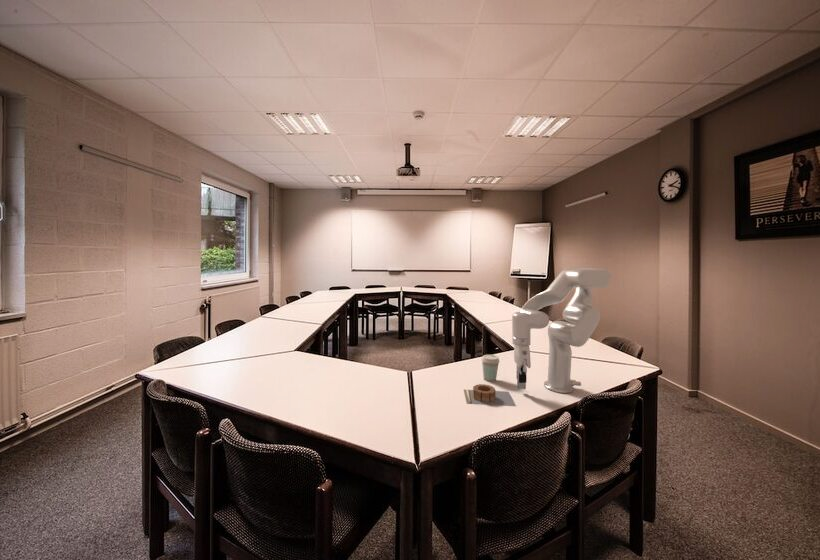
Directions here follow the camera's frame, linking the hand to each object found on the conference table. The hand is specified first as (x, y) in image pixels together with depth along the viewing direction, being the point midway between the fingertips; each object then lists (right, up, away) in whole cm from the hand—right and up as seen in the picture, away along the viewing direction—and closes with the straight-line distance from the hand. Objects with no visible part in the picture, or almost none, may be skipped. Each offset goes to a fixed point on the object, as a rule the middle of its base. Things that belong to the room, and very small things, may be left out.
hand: (521, 380), depth 142 cm
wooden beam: (0, -3, 0) cm, 3 cm away
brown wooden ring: (-18, -6, -5) cm, 19 cm away
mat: (-16, -7, -4) cm, 18 cm away
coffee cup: (-10, -5, +16) cm, 19 cm away
